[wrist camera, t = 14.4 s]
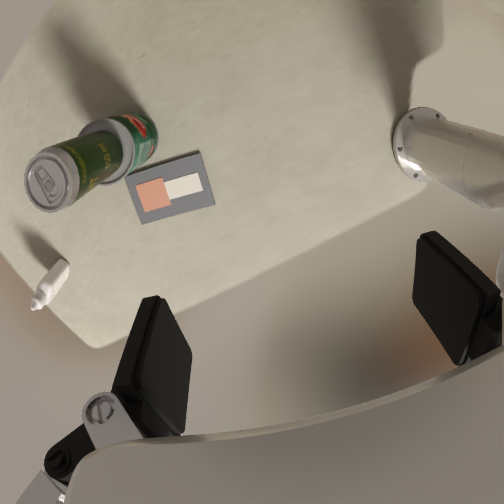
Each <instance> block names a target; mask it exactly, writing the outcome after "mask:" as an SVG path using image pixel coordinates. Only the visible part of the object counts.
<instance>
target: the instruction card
mask: <svg viewBox="0 0 504 504" xmlns="http://www.w3.org/2000/svg"><path fill="white" fill-rule="evenodd" d="M124 178H125V181H126V184H127V187H128V189H129V192H130V195H131V198H132V200H133V203H134V206H135V208H136V211H137V214H138V216H139V219H140V221H141V224H142V225H143V224H146V223H150V222H153V221H157V220H160V219H164V218H167V217H171V216H174V215H178V214H182V213H185V212H189V211H193V210H197V209H201V208H204V207H208V206H212V205H215V201H214V198H213V194H212V191H211V187H210V184H209V181H208V177H207V174H206V170H205V167H204V163H203V160H202V156H201V153H197V154H194V155H190V156H187V157H184V158H180V159H177V160H174V161H170V162H167V163H164V164H161V165H158V166H155V167H152V168H148V169H145V170H143V171H140V172H137V173H134V174H131V175H128V176H125V177H124Z"/></svg>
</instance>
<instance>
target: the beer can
mask: <svg viewBox="0 0 504 504" xmlns="http://www.w3.org/2000/svg"><path fill="white" fill-rule="evenodd" d="M122 160H123V147H122V144H121V142H120V140H119V139H118V138H117V137H116V135H115V134H113V133H111V132H109V131H105V130H99V131H95V132H92V133H88V134H85V135H82V136H79V137H76V138H73V139H70V140H67V141H64V142H61V143H58V144H55V145H52V146H50V147H47V148H44V149H42V150H41V151H40V152H39V153H37V154H36V156H34V157H33V158H32V159H31V160H30V162H29V163H28V165H27V167H26V171H25V174H24V185H25V189H26V193H27V195H28V197H29V199H30V201H31V202H32V203H33V204H34V206H35V207H37V208H38V209H40V210H41V211H43V212H48V213H52V212H57V211H59V210H64V209H66V208H67V207H69V206H71V205H72V204H73V203H74V202H76V201H77V200H78V199H80V198H81V197H82V196H83V195H85V194H86V193H87V192H89V191H90V190H92V189H93V188H94V187H96V186H97V185H98V184H100V183H101V182H103V181H104V180H105V179H107V178H108V177H110V176H111V175H112V174H114V173H115V172H116V171H117V170H118V169H119V167H120V165H121V163H122Z"/></svg>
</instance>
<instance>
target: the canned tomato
mask: <svg viewBox="0 0 504 504" xmlns="http://www.w3.org/2000/svg"><path fill="white" fill-rule="evenodd" d="M99 130H105V131H109V132H111V133H113V134H115V135H116V137H117V138H118V139H119V140H120V142H121V144H122V147H123V160H122V163H121V165H120V167H119V169H118V170H117V171H116V172H115V173H114V174H112V175H111V176H110V177H108V178H107V179H105V180H104V181H103V182H101V183H100V184H98V185H101V186H108V185H112V184H115V183H117V182H119V181H121V180H122V179H123V178H124V177H125V176H127V175H128V174H129V173H131V172H132V171H133V170H135V169H136V168H137V167H139V166H140V165H141V164H143V163H144V162H146V161H147V160H148V159H150V158H151V157H152V155H153V154H154V152H155V151H156V149H157V146H158V140H159V137H158V131H157V128H156V126H155V124H154V123H153V121H152V120H151V119H150V118H149V117H147V116H145V115H143V114H140V113H128V114H124V115H118V116H113V117H107V118H101V119H97V120H94V121H92V122H90V123H89V124H87V125H86V126H85V127H84V128H83V129H82V130H81V132H80V133H79V135H78V137H79V136H82V135H85V134H88V133H92V132H95V131H99Z"/></svg>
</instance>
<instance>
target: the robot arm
mask: <svg viewBox="0 0 504 504" xmlns="http://www.w3.org/2000/svg"><path fill="white" fill-rule="evenodd" d="M398 147H399V148H398ZM393 151H394V155H395V159H396V161H397V164H398V165H399V167H400V169H401V170H402V171H403V172H404V173H405V174H406V175H407V176H409V177H410V178H412V179H414V180H416V181H419V182H430V181H433V180H436V181H437V182H439V183H441V184H443V185H445V186H446V187H448V188H450V189H452V190H453V191H455V192H457V193H459V194H461V195H462V196H464V197H465V198H468V199H469V200H471V201H472V202H474V203H476V204H477V205H479V206H481V207H483V208H485V209H488V210H502V209H504V136H501V135H498V134H495V133H491V132H488V131H485V130H481V129H478V128H474V127H470V126H466V125H462V124H458V123H454V122H450V121H447V120H446V118H445V117H444V116H443V115H442V114H441V113H439V112H438V111H436V110H434V109H431V108H427V107H418V108H414V109H412V110H410V111H408V112H407V113H406V114H405V115H403V116H402V118H401V119H400V121H399V122H398V124H397V126H396V129H395V133H394V138H393ZM496 285H497V286H496ZM496 285H495V284H494V283H493V282H492V281H491V280H490V279H489V278H488V277H487V276H486V275H485V274H484V273H483V272H482V271H481V270H480V269H479V268H478V267H476V266H475V265H474V264H473V263H472V262H471V261H470V260H469V259H468V258H467V257H465V256H464V255H463V254H462V253H461V252H460V251H459V250H457V248H455V247H454V246H453V245H452V244H451V243H449V242H448V241H447V240H446V239H445V238H443V236H441V235H440V234H439V233H437V232H436V231H430V232H427V233H423V234H421V235H420V238H419V239H418V240H417V245H416V263H415V274H414V285H413V294H412V299H413V303H414V305H415V306H416V308H417V309H418V310H419V312H420V313H421V315H422V316H423V317H424V319H425V320H426V322H427V323H428V325H429V326H430V328H431V329H432V331H433V332H434V334H435V335H436V337H437V338H438V340H439V341H440V343H441V344H442V346H443V347H444V349H445V350H446V352H447V354H448V355H449V357H450V358H451V360H452V361H453V363H454V364H455V365H459V367H457V368H455V369H453V370H451V371H448V372H447V373H444V374H442V375H439V376H437V377H435V378H432V379H430V380H428V381H425V382H423V383H420V384H418V385H415V386H412V387H410V388H407V389H405V390H402V391H399V392H396V393H393V394H390V395H388V396H385V397H382V398H379V399H376V400H373V401H369V402H366V403H363V404H360V405H357V406H353V407H350V408H346V409H342V410H339V411H335V412H331V413H327V414H323V415H319V416H315V417H310V418H306V419H301V420H296V421H292V422H287V423H282V424H276V425H270V426H264V427H258V428H252V429H245V430H237V431H229V432H220V433H210V434H201V435H187V436H180V434H181V433H183V432H184V431H185V423H186V412H187V402H188V392H189V382H190V373H191V364H192V352H191V349H190V347H189V345H188V343H187V341H186V339H185V337H184V335H183V334H182V331H181V330H180V328H179V326H178V324H177V322H176V320H175V318H174V316H173V314H172V312H171V310H170V308H169V306H168V303H167V301H166V300H165V299H164V298H162V299H161V298H160V297H159V296H158V295H156V296H152V297H147V298H143V299H142V302H141V304H140V307H139V309H138V312H137V315H136V318H135V320H134V323H133V326H132V329H131V331H130V334H129V337H128V340H127V343H126V346H125V349H124V352H123V354H122V357H121V360H120V363H119V367H118V370H117V373H116V376H115V379H114V383H113V387H112V390H111V393H110V392H102V393H98V394H96V395H94V396H93V397H91V398H90V399H89V400H88V401H87V403H86V404H85V406H84V408H83V410H82V419H83V422H84V423H83V424H82V425H81V426H79V427H78V428H76V429H75V430H74V431H73V432H71V433H70V434H69V435H67V436H66V437H65V438H63V439H62V440H61V441H59V442H58V443H57V444H55V445H54V446H53V447H52V448H51V449H50V450H49V451H48V452H47V454H46V456H45V460H44V466H45V471H44V472H43V471H42V470H40V472H39V473H38V474H37V475H36V477H35V478H34V479H33V481H32V482H31V483H30V485H29V486H28V487H27V489H26V490H25V491H24V492H23V494H22V495H21V496H20V498H19V499H18V501H17V503H16V504H504V246H503V249H502V253H501V256H500V260H499V263H498V267H497V273H496ZM500 295H501V296H502V297H503V298H502V297H501V296H500Z"/></svg>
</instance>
